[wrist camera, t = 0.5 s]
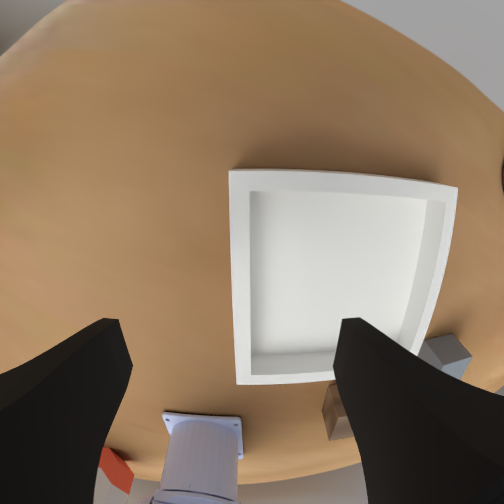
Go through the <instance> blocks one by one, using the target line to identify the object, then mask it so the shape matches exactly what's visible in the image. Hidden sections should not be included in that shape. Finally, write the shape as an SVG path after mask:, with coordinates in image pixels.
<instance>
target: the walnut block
mask: <svg viewBox="0 0 504 504" xmlns="http://www.w3.org/2000/svg"><path fill="white" fill-rule="evenodd" d="M322 413H323V417H324V421H325V425H326V430H327V434H328V438H329V441H331V440H337V439H343V438H349V437H354V434H353V431H352V428H351V426H350V423H349V420H348V417H347V415H346V412H345V409H344V406H343V404H342V401H341V398H340V395H339V392H338V388H337V384H334V385H329V386H328V390H327V394H326V397H325V401H324V405H323V408H322Z"/></svg>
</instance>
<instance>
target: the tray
mask: <svg viewBox="0 0 504 504" xmlns="http://www.w3.org/2000/svg"><path fill="white" fill-rule="evenodd" d="M457 194H458V188H457V187H453V186H449V185H444V184H440V183H436V182H431V181H424V180H417V179H410V178H403V177H394V176H386V175H376V174H366V173H354V172H341V171H325V170H304V169H231V170H230V171H229V212H230V249H231V278H232V303H233V325H234V345H235V363H236V380H237V385H264V384H289V383H304V382H316V381H327V380H335V375H334V370H333V363H334V358H335V353H336V348H337V343H338V338H339V333H340V327H341V322H342V319H345V318H356V317H360V318H362V319H364V320H365V321H367V322H368V323H370V324H371V325H373V326H374V327H375V328H377V329H378V330H380V331H381V332H382V333H384V334H385V335H387V336H388V337H389V338H391V339H392V340H394V341H395V342H397V343H398V344H399V345H401V346H402V347H404V348H405V349H407V350H408V351H410V352H411V353H413V354H414V355H416V356H417V355H418V353H419V350H420V348H421V345H422V342H423V340H424V337H425V334H426V332H427V329H428V326H429V323H430V320H431V317H432V314H433V311H434V308H435V305H436V301H437V298H438V294H439V291H440V287H441V284H442V280H443V276H444V272H445V267H446V263H447V258H448V254H449V249H450V244H451V238H452V232H453V226H454V219H455V212H456V204H457Z"/></svg>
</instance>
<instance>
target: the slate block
mask: <svg viewBox="0 0 504 504" xmlns="http://www.w3.org/2000/svg"><path fill="white" fill-rule="evenodd" d="M417 357H419V358H421V359H422V360H424V361H426V362H427V363H429V364H430V365H432V366H434V367H435V368H437V369H439V370H441V371H443V372H445V373H447V374H449V375H451V376H453V377H455V378H457V379H459V380H460V379H461V377H462V375H463V374H464V372H465V370H466V368H467V366H468V364H469V362H470V360H471V358H472V355H471V354H470V353H469V352H468V351H467V349H466V348H465V347H464V346H463V345H462V344H461V343H460V342H459V340H458V339H457V338H456V337H455V336H454V335H453V334H449V335H445V336H440V337H436V338H431V339H426V340H424V341H423V343H422V346H421V348H420V351H419V353H418V356H417Z"/></svg>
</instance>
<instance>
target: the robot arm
mask: <svg viewBox="0 0 504 504" xmlns="http://www.w3.org/2000/svg"><path fill="white" fill-rule="evenodd" d="M132 367H133V364H132V361H131V358H130V355H129V352H128V349H127V346H126V343H125V340H124V337H123V333H122V330H121V327H120V323H119V320H118V319H109V318H102V319H100V320H98V321H96V322H94V323H92V324H91V325H89V326H87V327H86V328H84V329H82V330H81V331H79V332H77V333H76V334H74V335H72V336H71V337H69V338H67V339H66V340H64V341H63V342H61V343H59V344H58V345H56V346H54V347H53V348H51V349H49V350H48V351H46V352H44V353H42V354H41V355H39V356H37V357H35V358H34V359H32V360H30V361H28V362H26V363H24V364H22V365H20V366H18V367H16V368H14V369H11V370H9V371H7V372H4V373H2V374H0V504H93V502H94V490H95V483H96V477H97V471H98V466H99V462H100V457H101V453H102V449H103V446H104V443H105V440H106V437H107V435H108V432H109V430H110V427H111V425H112V422H113V420H114V418H115V415H116V413H117V411H118V408H119V406H120V404H121V401H122V399H123V397H124V394H125V392H126V389H127V386H128V382H129V379H130V375H131V371H132ZM333 370H334V375H335V380H336V384H337V388H338V392H339V395H340V398H341V401H342V404H343V406H344V409H345V412H346V415H347V417H348V420H349V423H350V426H351V428H352V431H353V434H354V437H355V440H356V442H357V445H358V449H359V452H360V456H361V461H362V466H363V471H364V476H365V482H366V489H367V496H368V504H504V396H501V395H498V394H495V393H491V392H489V391H486V390H483V389H480V388H478V387H475V386H472V385H470V384H468V383H465V382H463V381H461V380H459V379H457V378H455V377H453V376H451V375H449V374H447V373H445V372H443V371H441V370H439V369H437V368H435V367H434V366H432V365H430V364H429V363H427V362H426V361H424V360H422V359H421V358H419V357H417V356H416V355H414V354H413V353H411V352H410V351H408V350H407V349H405V348H404V347H402V346H401V345H399V344H398V343H397V342H395V341H394V340H392V339H391V338H389V337H388V336H387V335H385V334H384V333H382V332H381V331H380V330H378V329H377V328H375V327H374V326H373V325H371V324H370V323H368V322H367V321H365V320H364V319H362V318H360V317H356V318H345V319H342V322H341V327H340V333H339V338H338V343H337V348H336V353H335V358H334V363H333ZM162 418H163V420H164V422H165V425H166V427H167V429H168V432H169V434H170V436H171V437H170V441H169V446H168V450H167V455H166V459H165V464H164V468H163V473H162V478H161V483H160V488H159V490H158V489H156V490H155V494H154V496H151V495H147V496H146V497H144V498H142V499H141V500H140V501H139V503H138V504H241V502H237V471H238V459H242V458H243V441H242V425H241V419H240V418H239V417H221V416H202V415H190V414H179V413H170V412H163V413H162Z"/></svg>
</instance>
